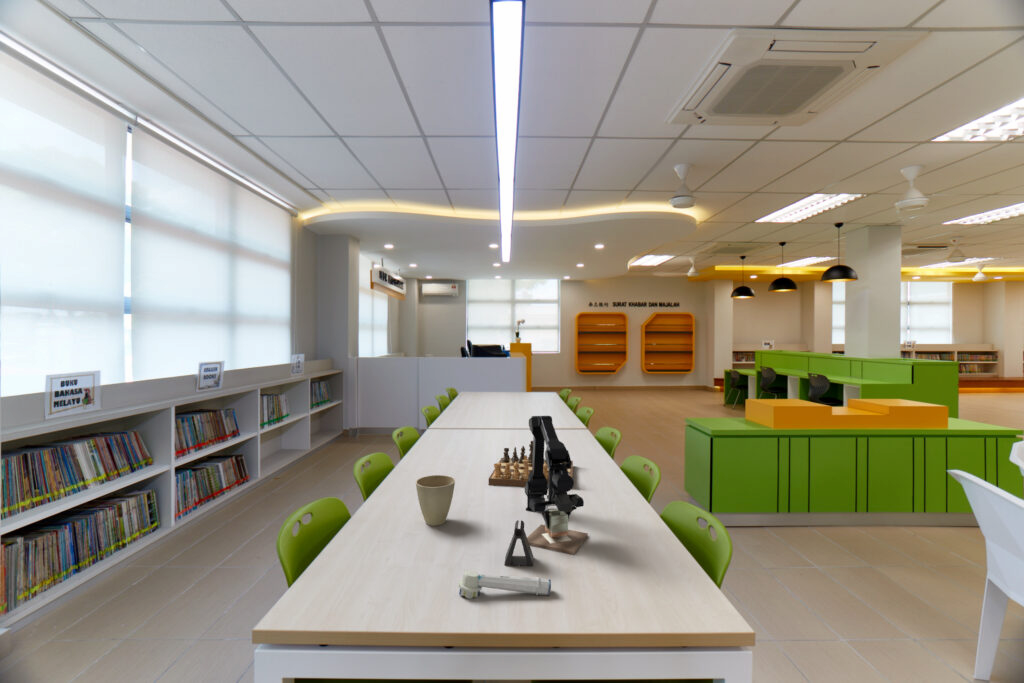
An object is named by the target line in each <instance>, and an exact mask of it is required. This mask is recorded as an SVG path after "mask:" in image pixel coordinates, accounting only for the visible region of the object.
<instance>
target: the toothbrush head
mask: <svg viewBox="0 0 1024 683" xmlns="http://www.w3.org/2000/svg"><path fill="white" fill-rule="evenodd" d="M458 588H459V591H458V592H459V593H458V594H459V595H460V596H461V597H465V598H466V599H469V600H470V599H471V600H472V599H473V598H478V597H479V596H480V591H481V590H482V588H487V589H495V590H502V591H503V590H504V591H511V592H517V593H526V594H532V595H533V594H534V595H535V596H538V595H539V596H550V594H551V590H552V581H551V579H549V578H543V577H541V578H540V577H539V576H537V577H526V576H512V575H511V576H510V575H499V574H498V575H497V574H481V573H478V571H476V570H466V571H465V573H464V574H463V578H462V580H460V581H459V584H458Z"/></svg>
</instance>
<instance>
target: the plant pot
mask: <svg viewBox="0 0 1024 683" xmlns="http://www.w3.org/2000/svg"><path fill="white" fill-rule="evenodd" d="M455 483H456V479H455V478H454V477H452V476H449V475H446V474H445V475H441V474H435V475H434V474H433V475H426V476H421V477H420V478H418V479H417V480H416V481H415V486H416V493H417V500H418V504H419V507H420V508H419V509H420V511H421V514H422V517H423V519H424V522H425V524H426V525H428V526H432V527H434V526H437V527H438V526H441V525H443V524H445V522H446V520H447V518H448V514H449V511H450V509H451V505H452V501H453V496H454V492H455V491H454V490H455V485H456V484H455Z"/></svg>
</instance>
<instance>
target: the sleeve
mask: <svg viewBox="0 0 1024 683" xmlns="http://www.w3.org/2000/svg"><path fill="white" fill-rule="evenodd" d="M548 510H549V511H550V514H549V529H548V528H547V526H546V524H545V523H544V525H545V531H546V532H547V533H548V534H549V535H550V536H551V537H559V536H566V535H568V530H569V519H568V515H567V514H566V513H565V512H564V511H563V512H561V511H559V510H558V508H556V509H551V510H550V509H548Z"/></svg>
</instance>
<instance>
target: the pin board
mask: <svg viewBox="0 0 1024 683" xmlns="http://www.w3.org/2000/svg"><path fill="white" fill-rule="evenodd" d="M588 536H589V534H588V532H583V531H577V530H572V529H568V535H566V536H559V537H551V536H550V535H549V534H548V533H547V532H546V531H545V524H542V523H541V524H540V525H539V526H538V527H537V528H536V529H535V530H533V532H532V533H530V534H529V535H528V536H527V539H528V542H529V545H530V547H535V548H541V549H545V550H551V551H555V552H559V553H563V554H569V555H573V556H574V555H575V554H576V552H577V551H578V550H579V548H580V547H581V546H582V544H583V543H584V542H585V540H586V539H587V538H588Z"/></svg>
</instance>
